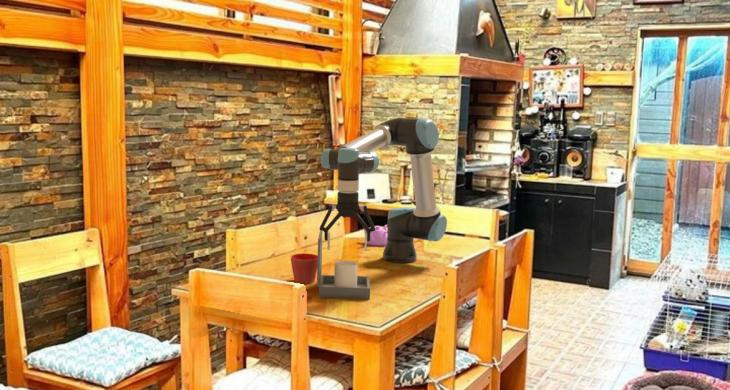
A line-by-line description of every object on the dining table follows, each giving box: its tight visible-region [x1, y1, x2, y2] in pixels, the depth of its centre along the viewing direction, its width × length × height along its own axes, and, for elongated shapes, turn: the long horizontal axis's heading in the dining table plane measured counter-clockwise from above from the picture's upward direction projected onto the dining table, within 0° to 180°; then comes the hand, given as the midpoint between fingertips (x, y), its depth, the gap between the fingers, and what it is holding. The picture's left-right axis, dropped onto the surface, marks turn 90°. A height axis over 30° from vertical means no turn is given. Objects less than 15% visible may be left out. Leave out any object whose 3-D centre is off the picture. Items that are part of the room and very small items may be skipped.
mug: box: [333, 260, 359, 287], centre depth 256 cm, size 12×8×10 cm
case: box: [316, 229, 371, 300], centre depth 256 cm, size 19×19×21 cm
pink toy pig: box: [363, 224, 388, 247], centre depth 344 cm, size 12×14×9 cm
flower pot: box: [290, 252, 318, 284], centre depth 269 cm, size 11×11×10 cm
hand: (347, 249), depth 255 cm, fingers open, 13 cm apart
